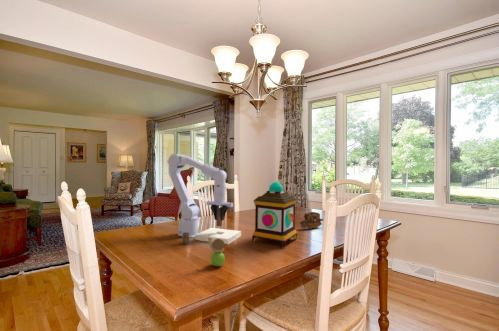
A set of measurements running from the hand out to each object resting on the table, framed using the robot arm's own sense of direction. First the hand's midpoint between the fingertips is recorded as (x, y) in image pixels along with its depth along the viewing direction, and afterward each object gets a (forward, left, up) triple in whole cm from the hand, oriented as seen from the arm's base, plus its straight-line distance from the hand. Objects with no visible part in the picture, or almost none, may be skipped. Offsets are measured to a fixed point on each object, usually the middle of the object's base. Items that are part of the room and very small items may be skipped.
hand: (219, 219), depth 136 cm
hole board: (0, 0, -9) cm, 9 cm away
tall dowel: (0, 0, -3) cm, 3 cm away
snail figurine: (+16, -33, -10) cm, 38 cm away
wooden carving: (+42, +40, -10) cm, 59 cm away
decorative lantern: (+28, +7, -10) cm, 30 cm away
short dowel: (-10, -15, -9) cm, 20 cm away
